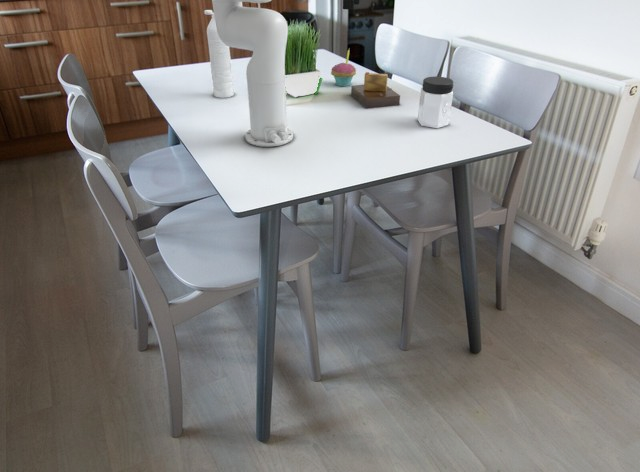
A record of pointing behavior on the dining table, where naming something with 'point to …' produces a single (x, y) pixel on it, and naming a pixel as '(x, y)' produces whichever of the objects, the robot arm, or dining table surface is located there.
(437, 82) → the jar
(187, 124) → the dining table surface
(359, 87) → the plate
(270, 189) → the dining table surface
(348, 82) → the cupcake
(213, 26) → the water bottle
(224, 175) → the dining table surface
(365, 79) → the tap handle
